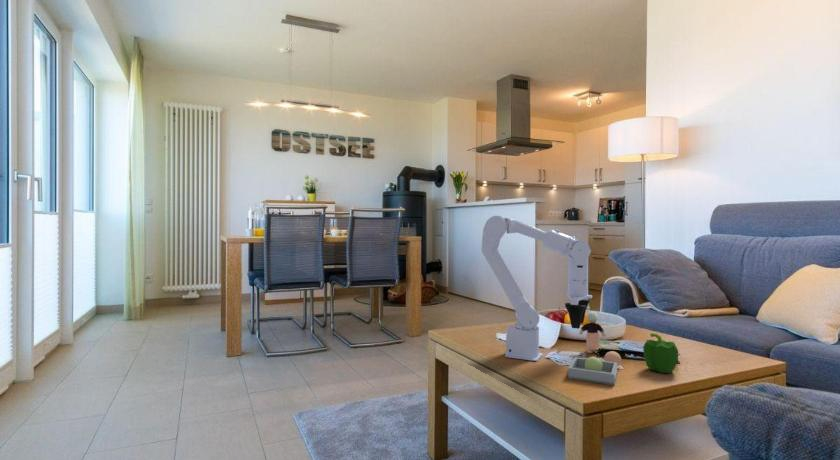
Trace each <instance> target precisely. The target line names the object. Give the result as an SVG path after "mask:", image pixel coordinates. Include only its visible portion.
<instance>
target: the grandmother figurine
mask: <svg viewBox="0 0 840 460" xmlns="http://www.w3.org/2000/svg"><path fill="white" fill-rule="evenodd" d="M598 316H599V315H598V314H597V312H596V311H589V312H588V313H587V315H586V319H587V320H588V322H589V323H588V322H587V323H585V324H583V325H582V326H580V330H579V332H578V334H579V335H583V333H584V332H585V331H586V350H585V351H586V352H587V353H589V354H593V352H594V353H595V354H598V353H597V350H598V349H599V348H600V349H601V344H600V334H601V336H602V337H604V338H605V337H606V336H607V335H606V333H605V331H604V328H603V327H602V326H601V325H600V324H599V323H596V322H597V320H598V318H599V317H598ZM599 332H600V334H599ZM593 350H594V351H593Z"/></svg>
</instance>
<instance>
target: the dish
mask: <svg viewBox="0 0 840 460" xmlns="http://www.w3.org/2000/svg"><path fill="white" fill-rule="evenodd" d="M587 359H588V358H585V357H584V358H583V357H576V356H575V357H573V359H572V361H571V362H570V364H569V366H568V367H567V368H568V369H567V373H568V375H567V379H568V380H575V381H580V382H587V383H593V384H599V385H608V386H615V384H616V380H617V376H618V367H617V363H616V362H608V361H605V360H600V361H601V362H602V365H603V368H602V371H601V372H600V371H593V370H586V368H585V361H586V360H587Z"/></svg>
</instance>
